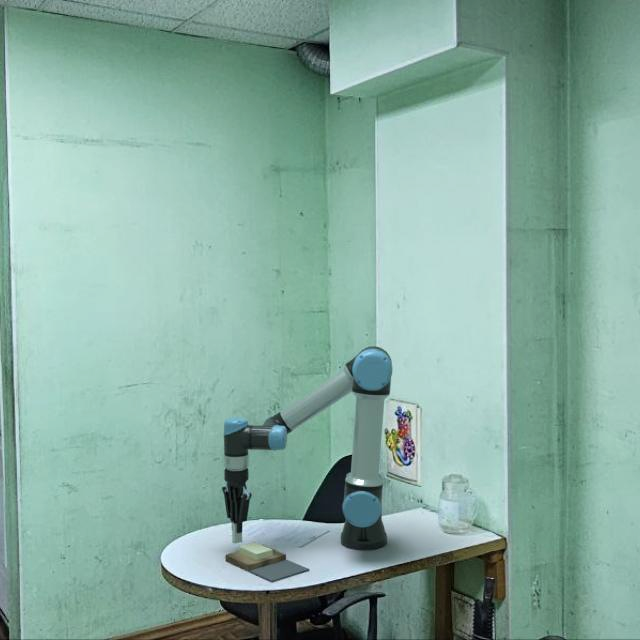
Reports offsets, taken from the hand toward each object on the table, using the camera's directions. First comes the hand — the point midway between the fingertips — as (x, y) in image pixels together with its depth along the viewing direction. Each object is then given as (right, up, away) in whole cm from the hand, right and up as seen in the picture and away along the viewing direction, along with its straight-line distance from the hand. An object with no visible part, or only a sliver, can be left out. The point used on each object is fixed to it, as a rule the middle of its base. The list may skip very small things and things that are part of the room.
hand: (237, 542), depth 262 cm
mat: (+14, -4, -16) cm, 22 cm away
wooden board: (+6, -4, -7) cm, 10 cm away
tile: (+6, -2, -7) cm, 10 cm away
